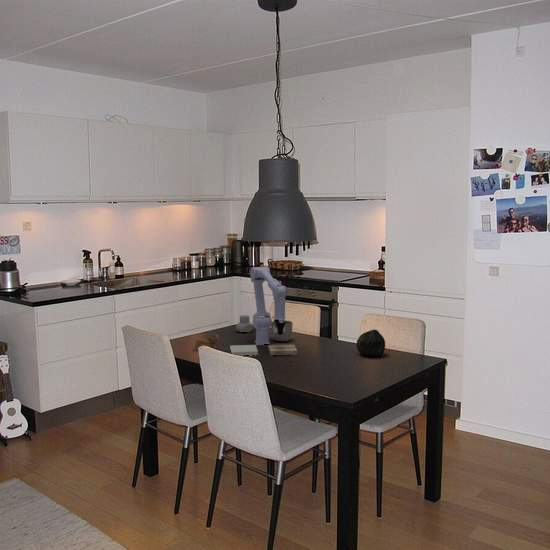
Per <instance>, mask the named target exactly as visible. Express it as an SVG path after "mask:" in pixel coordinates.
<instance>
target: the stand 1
mask: <svg viewBox="0 0 550 550" xmlns="http://www.w3.org/2000/svg"><path fill="white" fill-rule="evenodd" d="M229 347H230V348H229V351H230V350H231V352H230V354H231V353H232V354H237V355H241V356H243V355H249V356H248V357H253V356H252V355H255V356H254V357H257V356H256V355H258V356H259V351H258V348H257V345H256V344H243V345H242V344H241V345H239V344H238V345H236V344H234V345H230V346H229ZM243 357H244V356H243Z"/></svg>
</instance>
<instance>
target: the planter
mask: <svg viewBox="0 0 550 550" xmlns="http://www.w3.org/2000/svg"><path fill="white" fill-rule="evenodd" d="M284 322H286V324H285V326H284V327H285V337H274V336H273V326H276V324H275V321H274V320H272V325H271V327H270V329H271V336H272V339H273V340H274V341H275V340H276V342H278V341H286V342H288V341H290V340H291V338H292V335H293V321H291V320H287V319H284Z"/></svg>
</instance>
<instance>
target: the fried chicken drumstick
mask: <svg viewBox="0 0 550 550" xmlns="http://www.w3.org/2000/svg"><path fill="white" fill-rule="evenodd" d="M219 342H220V336H219V334H213V335H212V336H210V337H208V338H207V339H203V338H198V339H197V340H196V342H195V344H194V347H193V349H192V351H199V349H198V348H199V346H201V347H202V345H203V347H209V348H210V347H211V348H212V349H213V348H214V347H215V346H216V345H217V344H218V343H219Z"/></svg>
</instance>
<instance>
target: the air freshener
mask: <svg viewBox="0 0 550 550" xmlns="http://www.w3.org/2000/svg"><path fill="white" fill-rule="evenodd" d="M253 329H254V326H253V323H251V322H250V316H249V315H247V314H244V315H243V314H242V315H240V316H239V322H238V323H237V324H236V325H235V330H236V331H237V332H239V333H242V332H248V333H250V332H252V331H253Z"/></svg>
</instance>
